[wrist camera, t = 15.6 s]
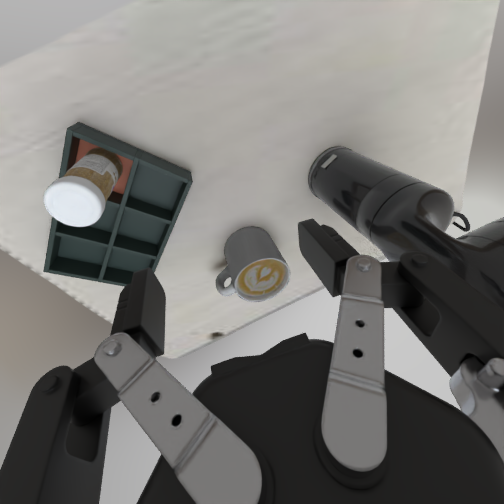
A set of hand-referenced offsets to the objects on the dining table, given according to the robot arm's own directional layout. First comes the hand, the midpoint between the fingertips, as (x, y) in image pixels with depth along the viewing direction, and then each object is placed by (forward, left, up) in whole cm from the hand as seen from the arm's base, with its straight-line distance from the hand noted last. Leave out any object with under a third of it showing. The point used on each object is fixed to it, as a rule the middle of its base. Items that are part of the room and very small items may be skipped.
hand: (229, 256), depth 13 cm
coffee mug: (-16, +15, -28) cm, 36 cm away
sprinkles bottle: (+10, +8, -27) cm, 30 cm away
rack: (+6, +15, -28) cm, 32 cm away
